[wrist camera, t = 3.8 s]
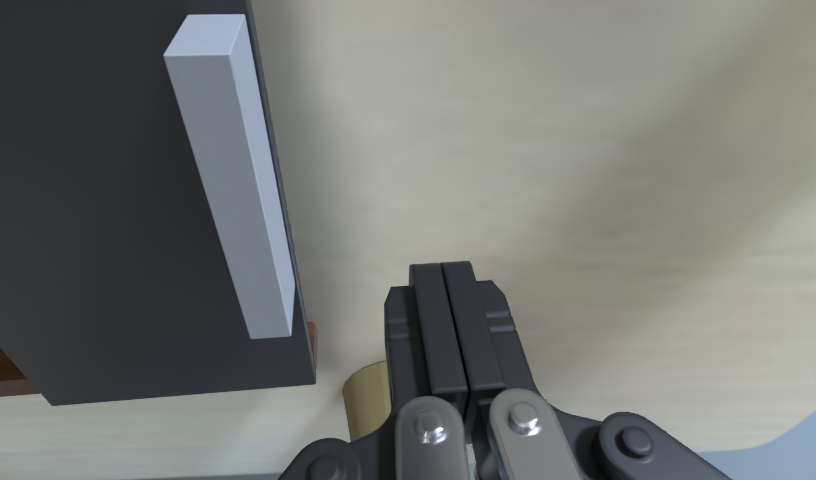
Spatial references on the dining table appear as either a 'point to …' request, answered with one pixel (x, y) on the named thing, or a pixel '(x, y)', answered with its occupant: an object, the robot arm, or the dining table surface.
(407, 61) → the dining table surface
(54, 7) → the lid
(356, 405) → the cork
